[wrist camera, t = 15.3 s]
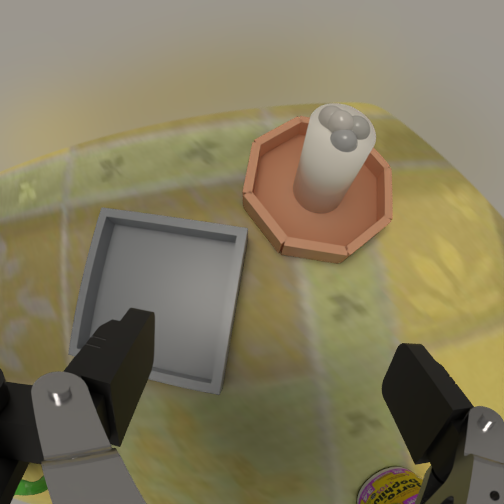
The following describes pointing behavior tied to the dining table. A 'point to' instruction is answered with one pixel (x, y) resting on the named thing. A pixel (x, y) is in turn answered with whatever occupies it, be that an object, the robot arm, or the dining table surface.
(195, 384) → the parts tray
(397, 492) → the supplement bottle
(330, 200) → the pebble jar
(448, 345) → the dining table surface
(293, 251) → the orange shallow octagonal tray
